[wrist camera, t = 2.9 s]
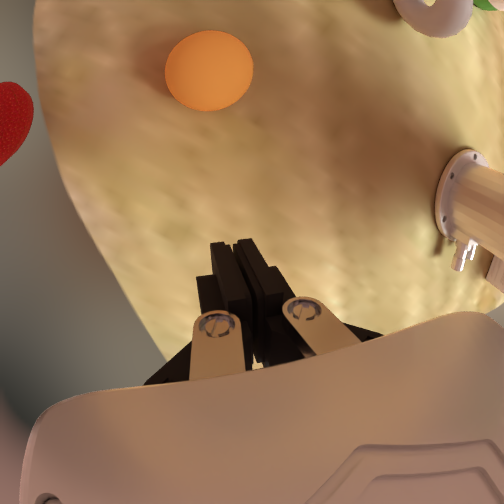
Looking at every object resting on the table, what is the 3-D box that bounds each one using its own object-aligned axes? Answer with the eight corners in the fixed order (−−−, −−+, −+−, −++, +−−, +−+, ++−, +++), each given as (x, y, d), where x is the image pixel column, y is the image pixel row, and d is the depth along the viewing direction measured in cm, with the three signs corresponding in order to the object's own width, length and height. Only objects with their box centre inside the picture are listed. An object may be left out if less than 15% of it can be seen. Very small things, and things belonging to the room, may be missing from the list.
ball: (244, 109, 22) (264, 109, 16) (168, 115, 20) (163, 114, 15) (243, 41, 19) (262, 20, 14) (166, 44, 18) (162, 22, 12)
